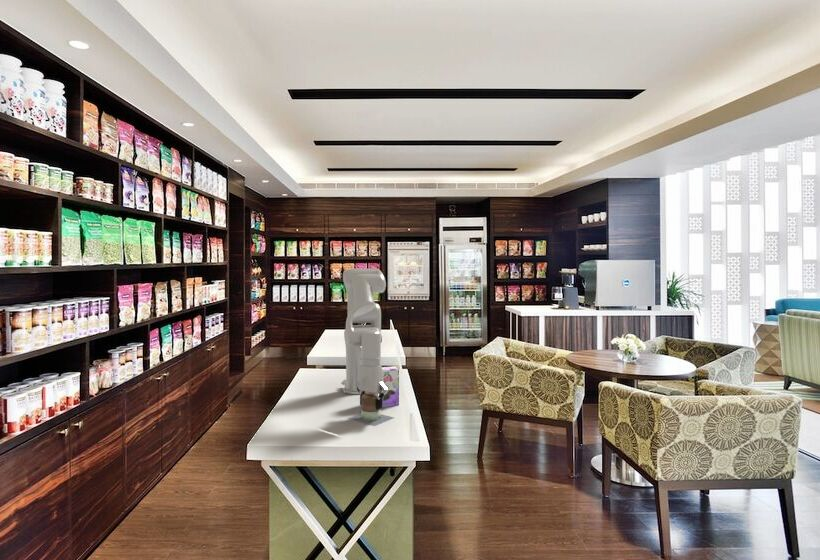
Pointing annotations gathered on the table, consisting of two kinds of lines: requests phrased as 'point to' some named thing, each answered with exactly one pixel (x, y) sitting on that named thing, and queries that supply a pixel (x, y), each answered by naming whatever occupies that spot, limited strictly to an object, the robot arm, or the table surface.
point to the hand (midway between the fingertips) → (371, 406)
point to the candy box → (391, 386)
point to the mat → (373, 423)
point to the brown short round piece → (369, 402)
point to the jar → (370, 415)
